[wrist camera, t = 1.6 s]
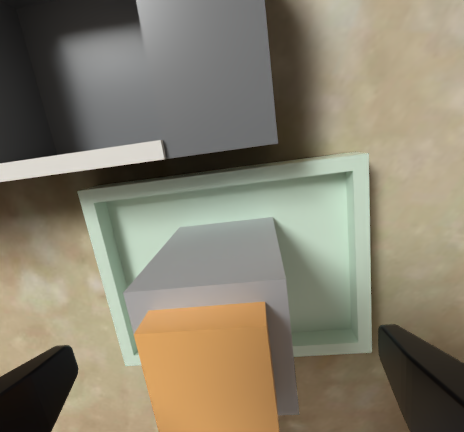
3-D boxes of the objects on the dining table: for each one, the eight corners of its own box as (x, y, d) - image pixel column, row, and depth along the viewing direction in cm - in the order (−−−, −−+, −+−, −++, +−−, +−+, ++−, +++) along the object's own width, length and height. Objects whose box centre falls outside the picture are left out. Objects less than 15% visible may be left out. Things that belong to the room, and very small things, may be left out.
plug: (272, 217, 13) (290, 300, 6) (281, 301, 14) (305, 450, 7) (179, 227, 14) (104, 314, 7) (195, 308, 15) (143, 453, 8)
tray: (355, 151, 12) (368, 153, 11) (360, 331, 15) (371, 352, 13) (95, 185, 14) (77, 191, 12) (137, 345, 16) (125, 366, 15)
